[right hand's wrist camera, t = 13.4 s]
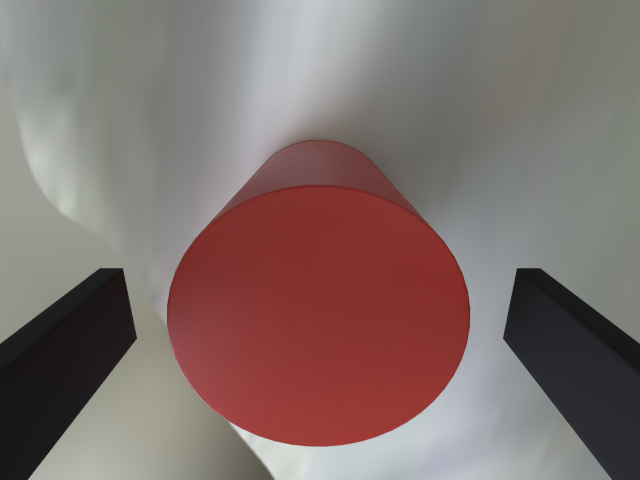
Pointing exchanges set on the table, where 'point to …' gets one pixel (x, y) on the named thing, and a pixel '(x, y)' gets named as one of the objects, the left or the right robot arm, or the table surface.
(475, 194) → the table surface
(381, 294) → the can
